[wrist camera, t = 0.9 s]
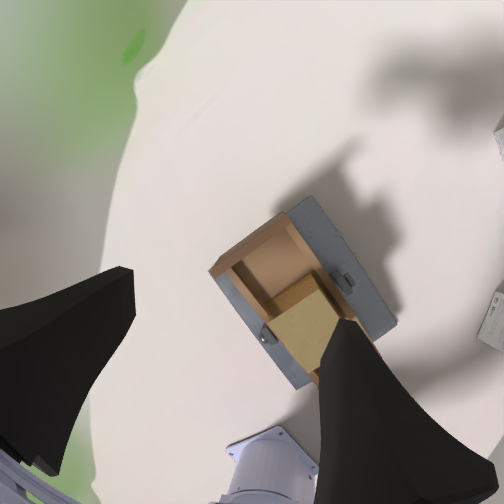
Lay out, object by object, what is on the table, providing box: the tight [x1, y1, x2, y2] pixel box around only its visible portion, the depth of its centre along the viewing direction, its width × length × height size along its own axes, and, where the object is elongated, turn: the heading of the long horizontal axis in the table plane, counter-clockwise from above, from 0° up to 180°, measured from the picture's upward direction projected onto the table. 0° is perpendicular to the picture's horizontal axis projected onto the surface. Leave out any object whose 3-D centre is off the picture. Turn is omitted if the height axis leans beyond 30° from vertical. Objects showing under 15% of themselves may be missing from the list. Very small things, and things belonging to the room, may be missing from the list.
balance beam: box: [209, 211, 382, 388], centre depth 22 cm, size 15×6×6 cm, turn 36°
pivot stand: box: [208, 196, 397, 390], centre depth 25 cm, size 15×12×5 cm
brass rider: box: [267, 272, 342, 373], centre depth 21 cm, size 5×4×4 cm
